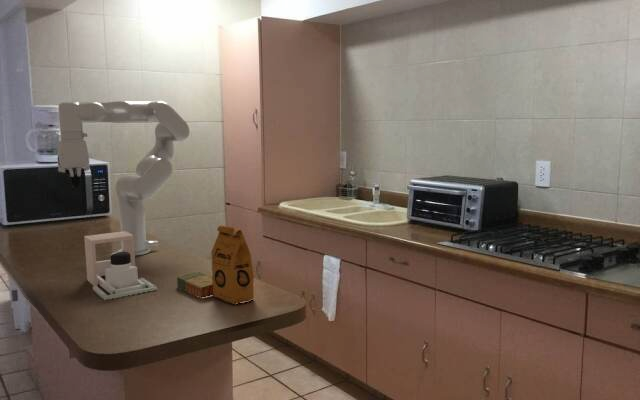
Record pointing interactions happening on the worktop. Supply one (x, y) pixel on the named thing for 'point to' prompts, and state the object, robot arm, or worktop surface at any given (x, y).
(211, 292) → the carton
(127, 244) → the cubby
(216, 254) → the coffee package
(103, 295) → the frame
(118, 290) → the rack
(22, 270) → the worktop surface
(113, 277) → the medicine bottle
